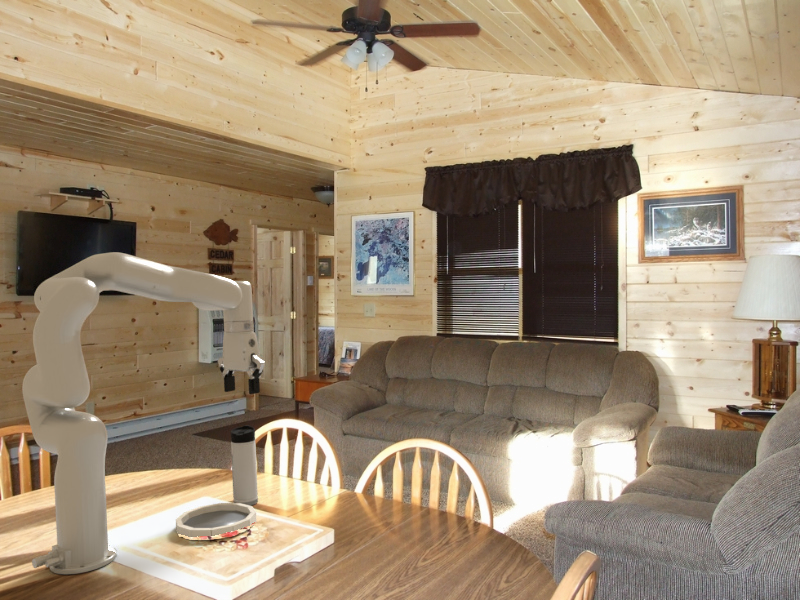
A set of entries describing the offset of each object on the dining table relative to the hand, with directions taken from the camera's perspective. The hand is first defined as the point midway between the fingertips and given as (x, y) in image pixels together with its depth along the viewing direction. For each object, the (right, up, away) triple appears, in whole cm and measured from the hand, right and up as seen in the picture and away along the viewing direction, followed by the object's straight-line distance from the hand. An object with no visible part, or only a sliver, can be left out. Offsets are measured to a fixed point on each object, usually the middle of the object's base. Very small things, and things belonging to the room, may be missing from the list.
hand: (242, 392), depth 167 cm
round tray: (-2, -30, -16) cm, 34 cm away
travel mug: (+1, -30, 0) cm, 30 cm away
